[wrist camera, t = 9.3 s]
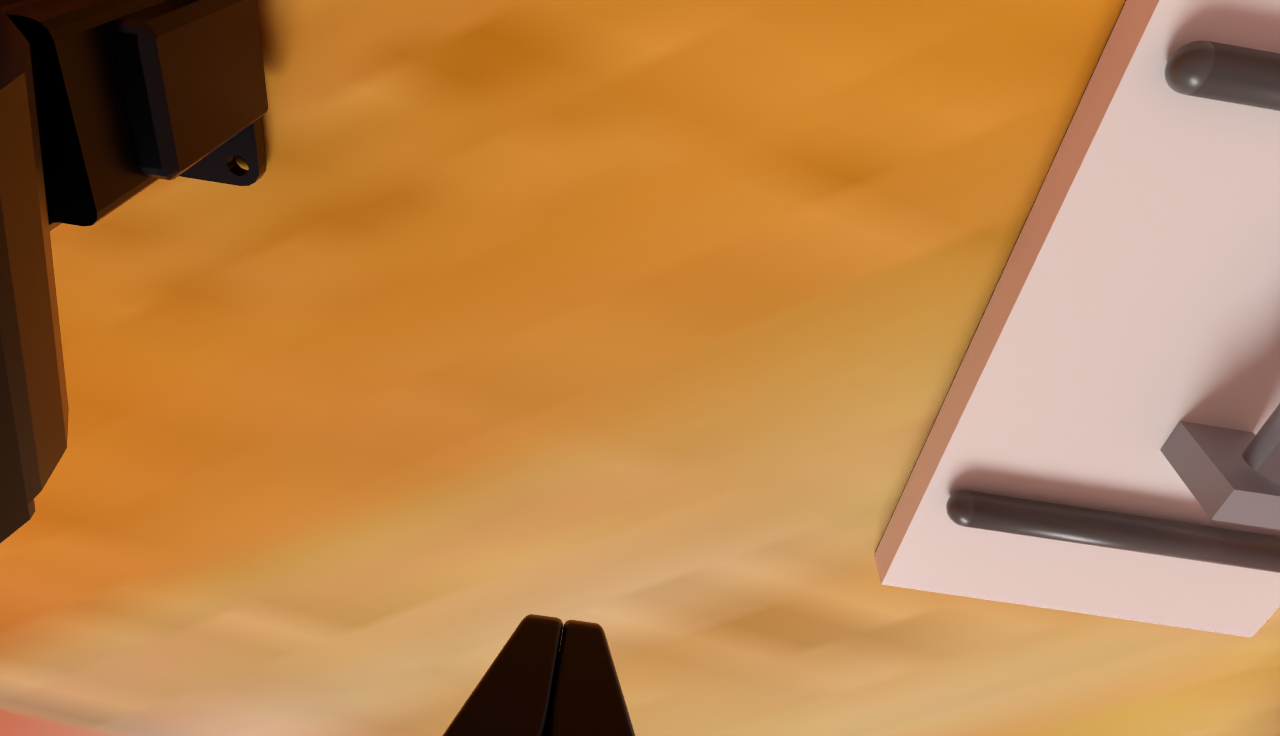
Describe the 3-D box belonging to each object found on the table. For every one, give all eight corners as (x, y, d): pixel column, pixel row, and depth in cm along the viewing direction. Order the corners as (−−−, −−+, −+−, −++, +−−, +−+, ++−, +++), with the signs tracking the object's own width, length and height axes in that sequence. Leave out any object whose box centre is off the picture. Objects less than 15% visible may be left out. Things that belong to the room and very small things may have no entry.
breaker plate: (874, 555, 26) (899, 656, 23) (1211, -188, 15) (1349, -187, 12) (1231, 607, 27) (1302, 712, 24) (1818, -75, 15) (2105, -45, 12)
